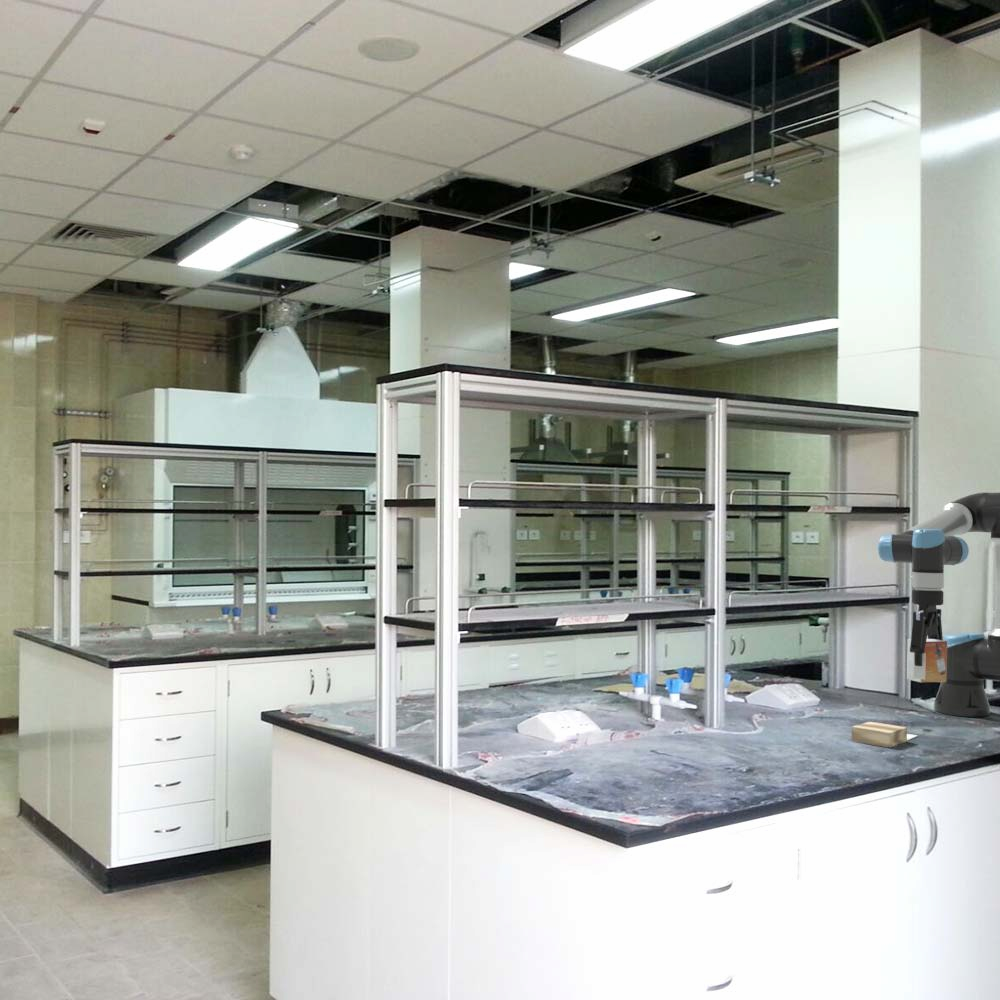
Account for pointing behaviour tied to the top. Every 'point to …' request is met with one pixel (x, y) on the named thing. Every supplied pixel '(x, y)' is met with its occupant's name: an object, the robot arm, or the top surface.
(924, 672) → the robot arm
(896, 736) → the base block
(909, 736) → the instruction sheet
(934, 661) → the small box
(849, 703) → the top surface
